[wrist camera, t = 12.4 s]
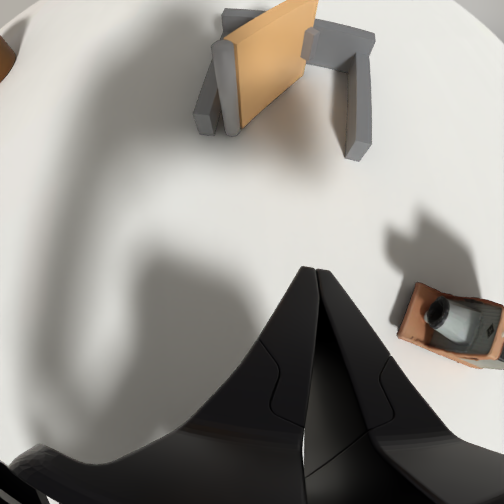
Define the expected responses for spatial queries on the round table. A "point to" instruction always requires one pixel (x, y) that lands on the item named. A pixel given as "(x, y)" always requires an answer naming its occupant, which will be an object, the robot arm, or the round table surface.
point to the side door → (263, 60)
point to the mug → (5, 58)
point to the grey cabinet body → (327, 55)
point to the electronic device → (455, 327)
